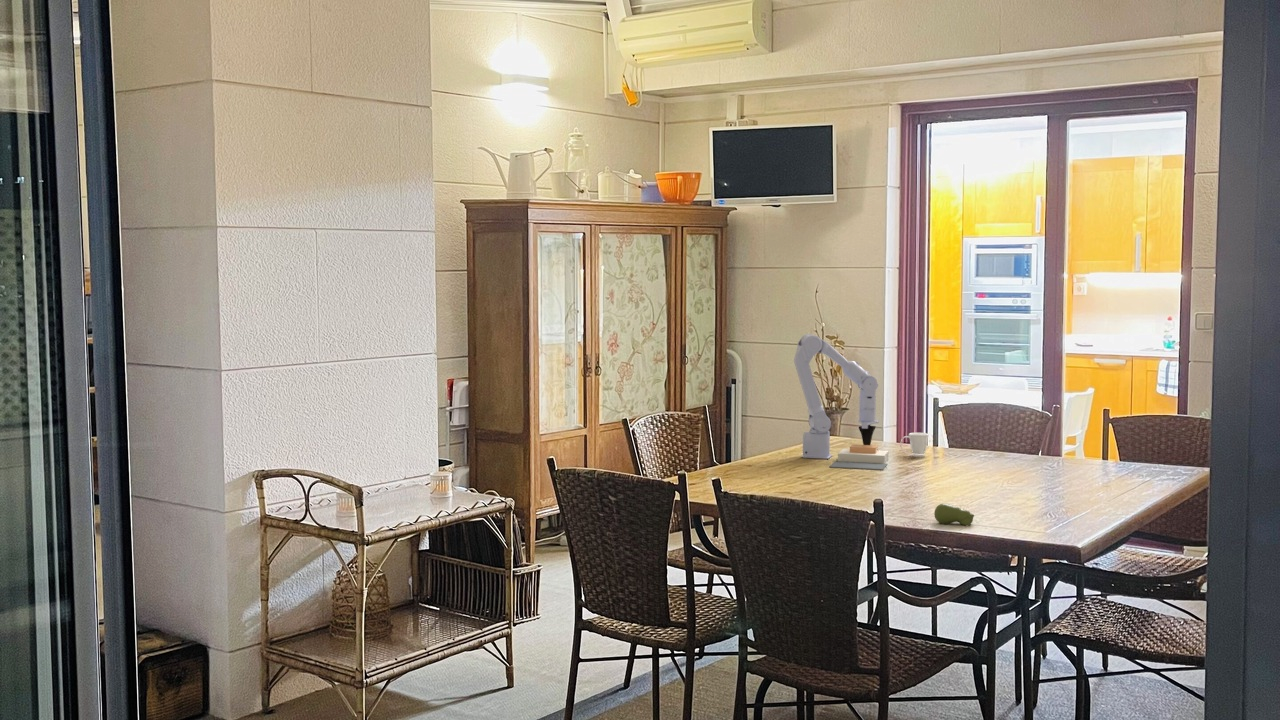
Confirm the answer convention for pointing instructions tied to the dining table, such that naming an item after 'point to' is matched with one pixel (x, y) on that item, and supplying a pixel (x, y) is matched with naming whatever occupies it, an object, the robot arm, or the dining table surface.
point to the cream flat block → (863, 456)
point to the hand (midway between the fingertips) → (866, 446)
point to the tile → (863, 449)
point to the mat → (858, 465)
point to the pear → (952, 514)
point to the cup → (917, 443)
